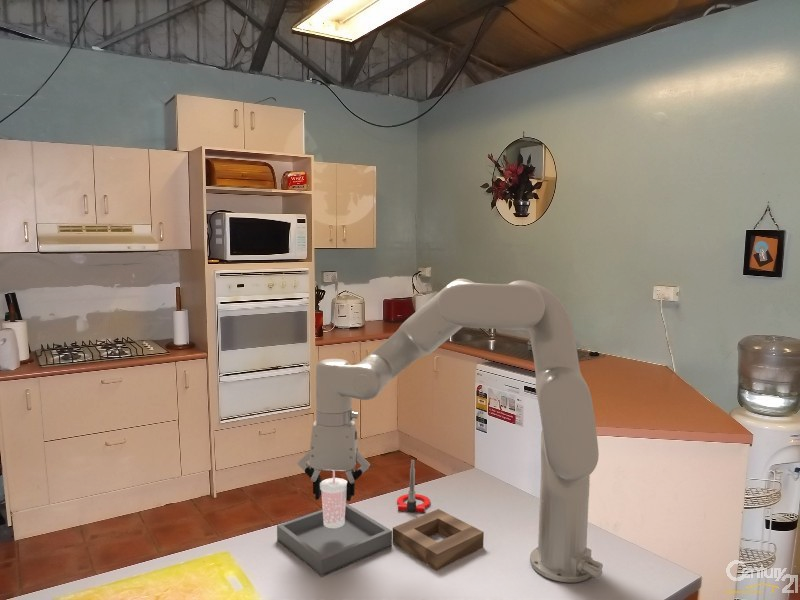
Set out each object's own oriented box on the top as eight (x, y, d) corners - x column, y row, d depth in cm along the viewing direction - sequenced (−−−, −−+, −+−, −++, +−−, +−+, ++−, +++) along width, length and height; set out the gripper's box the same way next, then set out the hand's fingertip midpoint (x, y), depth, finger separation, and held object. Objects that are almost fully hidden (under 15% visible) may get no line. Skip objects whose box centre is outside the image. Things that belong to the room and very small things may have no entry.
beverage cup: (337, 513, 131) (337, 453, 129) (353, 524, 126) (353, 462, 125) (314, 522, 127) (314, 460, 125) (330, 533, 122) (329, 469, 121)
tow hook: (399, 496, 151) (394, 511, 142) (400, 448, 150) (395, 460, 141) (431, 499, 150) (428, 514, 141) (433, 450, 149) (429, 462, 140)
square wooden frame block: (483, 547, 126) (483, 532, 125) (436, 570, 117) (437, 554, 116) (438, 523, 136) (438, 508, 136) (392, 542, 127) (392, 527, 127)
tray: (391, 546, 126) (392, 530, 126) (321, 576, 114) (321, 559, 114) (344, 515, 140) (344, 501, 139) (277, 540, 128) (276, 525, 128)
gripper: (376, 413, 127) (375, 492, 129) (298, 410, 128) (299, 488, 130) (371, 424, 120) (371, 507, 121) (289, 421, 121) (290, 503, 123)
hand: (333, 496), depth 126 cm, fingers closed on beverage cup, 6 cm apart
